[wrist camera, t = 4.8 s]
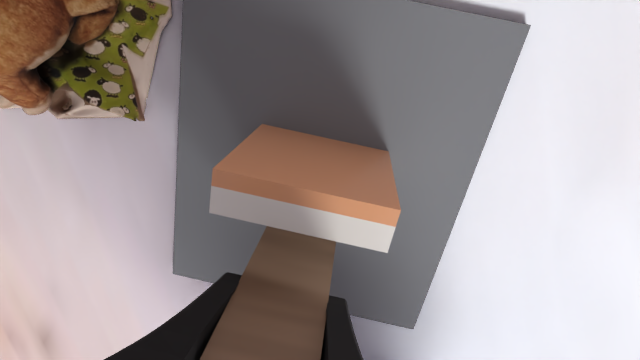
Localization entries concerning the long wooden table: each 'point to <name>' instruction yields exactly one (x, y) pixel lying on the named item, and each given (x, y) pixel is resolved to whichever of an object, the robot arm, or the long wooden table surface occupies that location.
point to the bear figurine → (79, 56)
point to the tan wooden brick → (277, 301)
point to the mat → (341, 122)
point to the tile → (309, 187)
